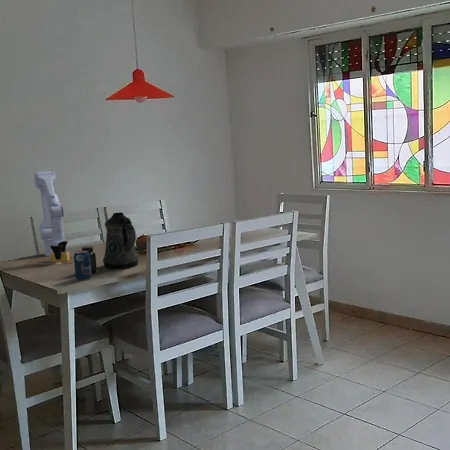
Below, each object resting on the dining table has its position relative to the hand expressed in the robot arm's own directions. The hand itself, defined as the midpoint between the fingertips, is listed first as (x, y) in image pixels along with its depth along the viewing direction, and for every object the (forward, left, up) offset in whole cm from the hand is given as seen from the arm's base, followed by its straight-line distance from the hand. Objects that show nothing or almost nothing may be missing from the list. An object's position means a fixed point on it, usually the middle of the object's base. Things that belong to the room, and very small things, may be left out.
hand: (60, 257), depth 298 cm
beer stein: (+13, +33, -3) cm, 36 cm away
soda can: (+35, +19, -3) cm, 40 cm away
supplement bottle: (+24, +19, -3) cm, 31 cm away
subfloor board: (0, -5, -3) cm, 6 cm away
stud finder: (0, 0, -2) cm, 2 cm away
